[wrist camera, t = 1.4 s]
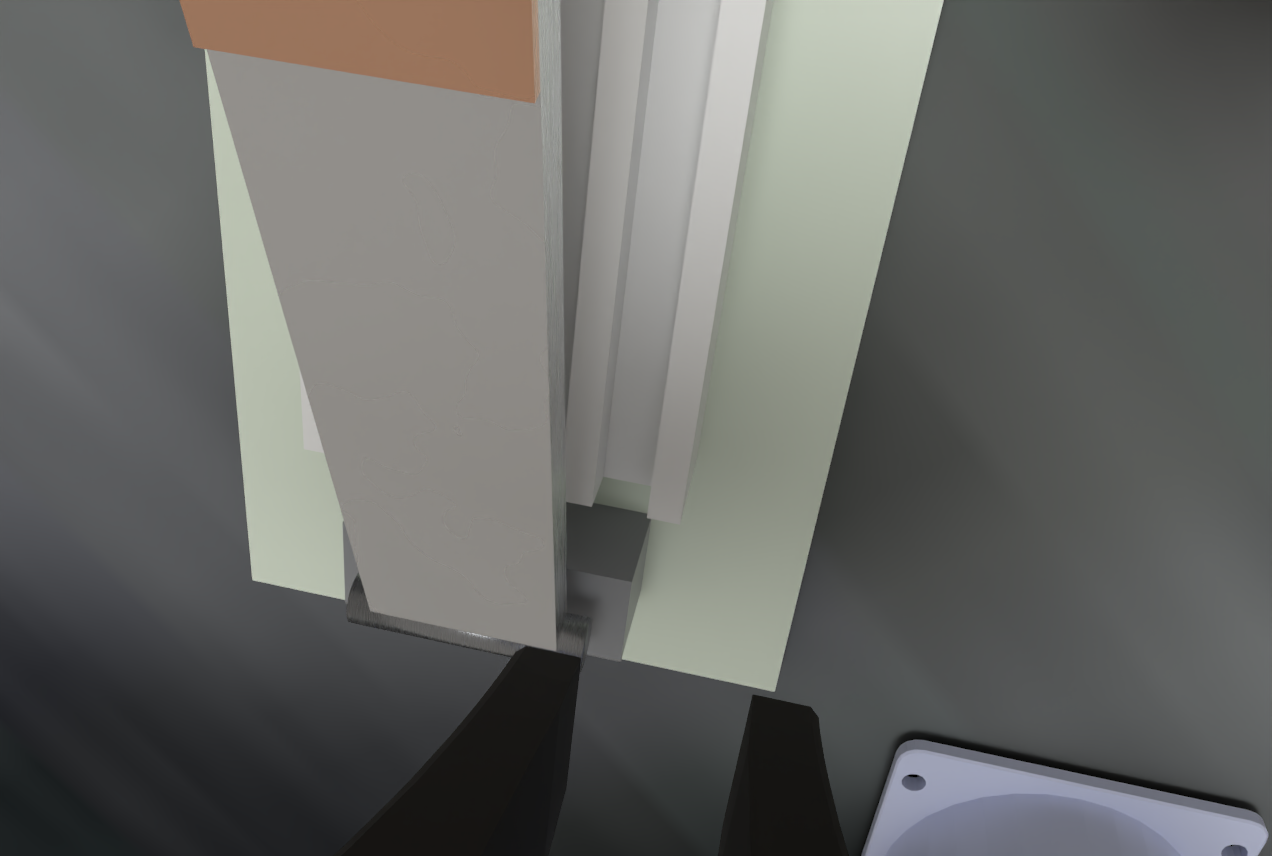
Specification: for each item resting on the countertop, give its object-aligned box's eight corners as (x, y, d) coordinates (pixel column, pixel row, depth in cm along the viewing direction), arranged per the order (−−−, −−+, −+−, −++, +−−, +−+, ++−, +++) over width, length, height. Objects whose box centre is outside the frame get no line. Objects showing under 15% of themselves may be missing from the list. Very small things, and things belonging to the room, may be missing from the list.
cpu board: (777, 666, 25) (762, 800, 22) (268, 559, 26) (183, 670, 23) (1008, -287, 15) (1043, -300, 12) (193, -388, 17) (30, -426, 13)
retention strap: (592, 633, 21) (578, 686, 20) (370, 586, 22) (349, 636, 21) (610, -154, 10) (580, -97, 9) (143, -220, 10) (83, -169, 10)
